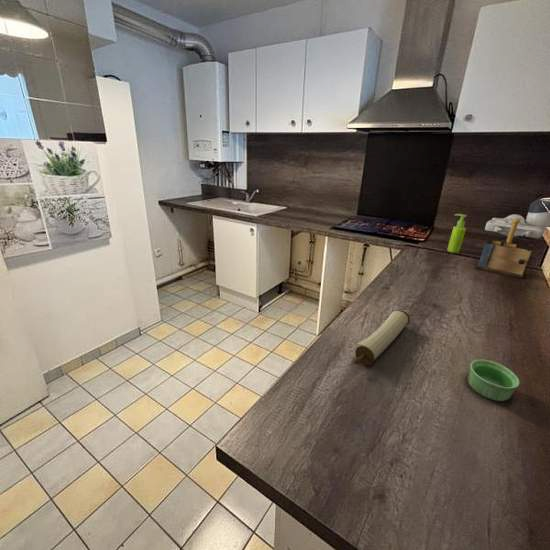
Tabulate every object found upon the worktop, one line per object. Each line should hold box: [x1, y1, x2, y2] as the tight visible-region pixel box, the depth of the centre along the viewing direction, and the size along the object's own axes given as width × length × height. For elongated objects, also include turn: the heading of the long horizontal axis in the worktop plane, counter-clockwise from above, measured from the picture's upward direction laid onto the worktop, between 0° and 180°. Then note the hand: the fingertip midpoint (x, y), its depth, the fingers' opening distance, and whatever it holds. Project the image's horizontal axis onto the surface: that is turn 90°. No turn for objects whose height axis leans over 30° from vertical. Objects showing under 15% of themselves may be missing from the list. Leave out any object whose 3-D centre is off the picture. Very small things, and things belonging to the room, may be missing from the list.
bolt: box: [492, 218, 520, 248], centre depth 127 cm, size 10×3×12 cm, turn 51°
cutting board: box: [475, 236, 534, 280], centre depth 130 cm, size 17×6×14 cm, turn 51°
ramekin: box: [467, 359, 521, 402], centre depth 65 cm, size 9×9×4 cm
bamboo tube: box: [353, 310, 411, 366], centre depth 80 cm, size 32×6×5 cm, turn 137°
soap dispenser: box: [446, 213, 468, 254], centre depth 156 cm, size 6×7×20 cm
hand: (511, 232), depth 126 cm, fingers open, 8 cm apart
